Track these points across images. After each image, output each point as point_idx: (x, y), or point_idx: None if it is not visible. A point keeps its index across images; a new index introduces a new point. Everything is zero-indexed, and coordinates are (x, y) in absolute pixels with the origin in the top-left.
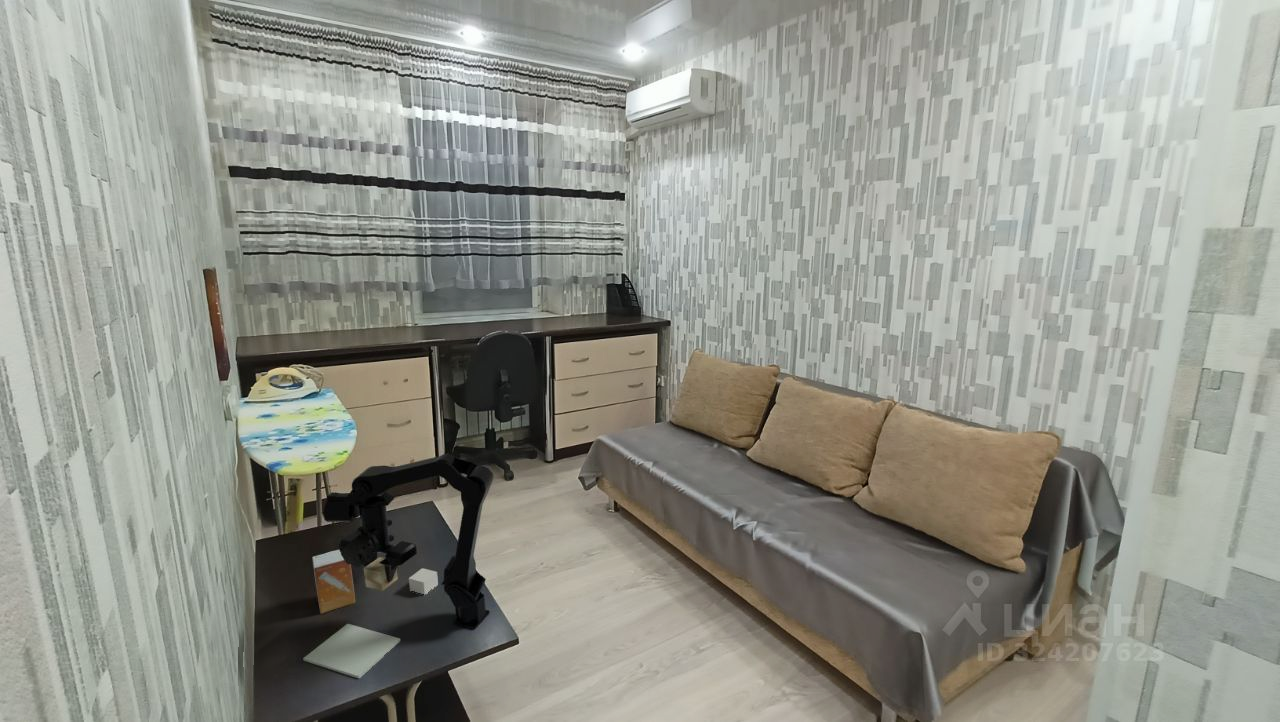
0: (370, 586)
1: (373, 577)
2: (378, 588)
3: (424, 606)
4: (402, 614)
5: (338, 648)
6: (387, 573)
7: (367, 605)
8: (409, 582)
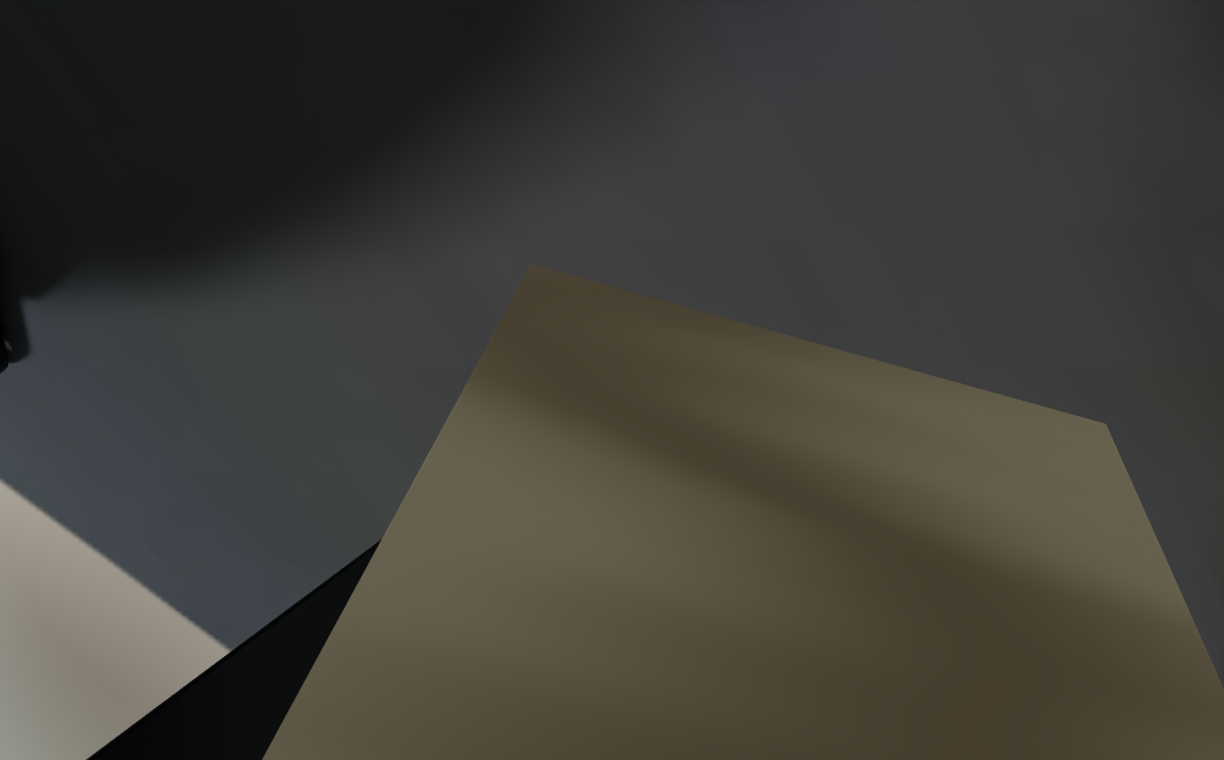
0: (942, 406)
1: (767, 617)
2: (642, 322)
3: (445, 384)
4: (609, 259)
5: None
6: (212, 740)
7: (1142, 397)
8: None
